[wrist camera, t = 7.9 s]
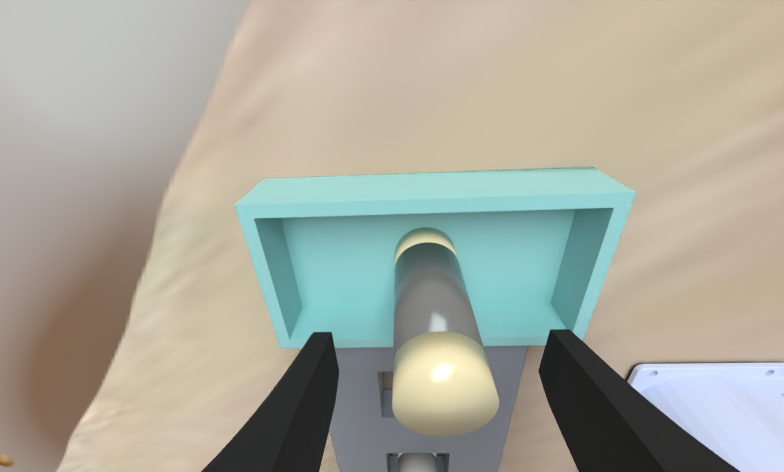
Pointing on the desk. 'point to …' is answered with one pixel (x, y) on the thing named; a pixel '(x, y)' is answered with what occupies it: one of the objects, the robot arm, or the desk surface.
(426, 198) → the tray
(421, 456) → the fuse
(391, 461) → the fuse block
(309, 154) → the desk surface
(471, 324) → the led light bulb
